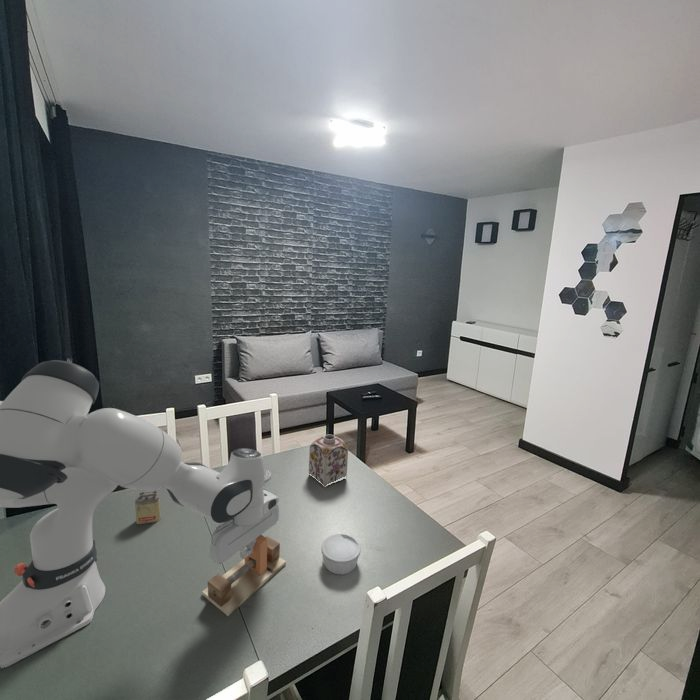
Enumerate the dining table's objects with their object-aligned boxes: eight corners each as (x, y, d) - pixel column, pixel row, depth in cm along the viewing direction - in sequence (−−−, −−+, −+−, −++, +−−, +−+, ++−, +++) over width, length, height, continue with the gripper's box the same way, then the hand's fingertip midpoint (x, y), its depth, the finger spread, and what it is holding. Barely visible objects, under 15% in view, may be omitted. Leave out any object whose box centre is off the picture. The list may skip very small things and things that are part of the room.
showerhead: (241, 479, 130) (248, 465, 140) (241, 497, 132) (248, 482, 141) (268, 480, 131) (272, 466, 140) (267, 498, 132) (272, 483, 142)
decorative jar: (330, 467, 157) (332, 428, 153) (347, 479, 148) (350, 438, 145) (307, 475, 149) (309, 434, 146) (323, 488, 141) (325, 446, 137)
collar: (259, 574, 97) (260, 543, 95) (244, 564, 100) (244, 534, 98) (266, 569, 99) (267, 538, 97) (251, 559, 102) (251, 529, 100)
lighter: (134, 525, 114) (133, 497, 112) (137, 517, 118) (135, 490, 116) (160, 521, 117) (158, 494, 115) (161, 514, 120) (160, 487, 118)
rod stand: (227, 616, 86) (227, 596, 85) (202, 594, 92) (201, 576, 91) (285, 564, 103) (286, 547, 102) (261, 548, 108) (261, 532, 107)
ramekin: (366, 558, 107) (367, 543, 106) (346, 584, 97) (347, 568, 96) (334, 543, 112) (335, 528, 111) (313, 566, 103) (313, 550, 102)
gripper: (220, 536, 82) (220, 587, 85) (283, 495, 99) (282, 539, 102) (203, 525, 86) (204, 574, 88) (266, 486, 103) (266, 529, 105)
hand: (246, 555), depth 95 cm, fingers closed
